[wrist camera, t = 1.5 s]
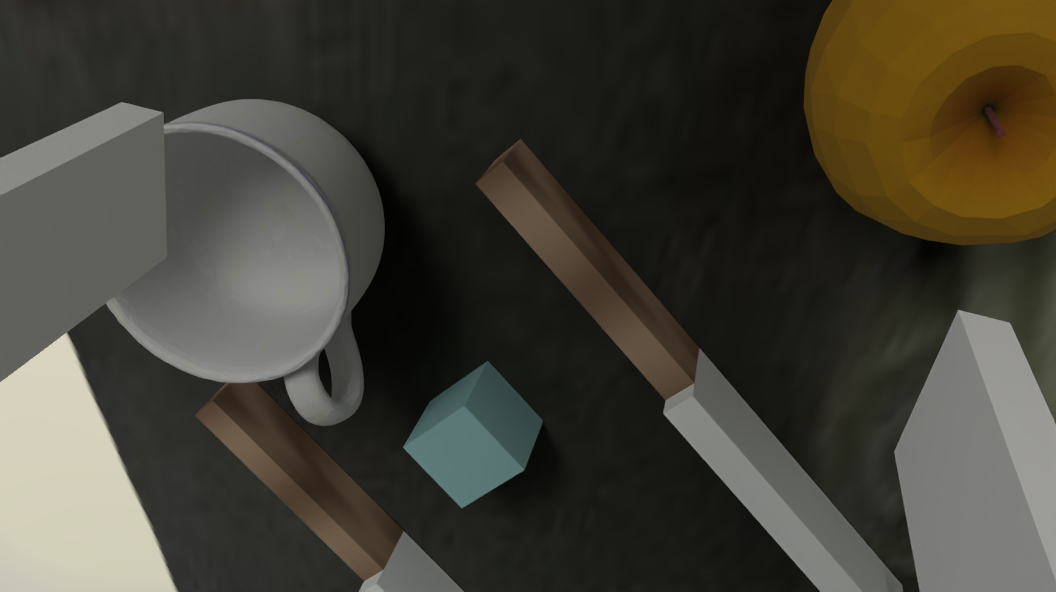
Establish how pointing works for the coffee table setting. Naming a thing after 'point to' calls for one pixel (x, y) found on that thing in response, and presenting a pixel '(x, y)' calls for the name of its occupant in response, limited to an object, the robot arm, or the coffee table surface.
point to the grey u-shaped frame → (750, 473)
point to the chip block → (474, 435)
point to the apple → (939, 115)
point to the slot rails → (579, 264)
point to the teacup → (261, 254)
